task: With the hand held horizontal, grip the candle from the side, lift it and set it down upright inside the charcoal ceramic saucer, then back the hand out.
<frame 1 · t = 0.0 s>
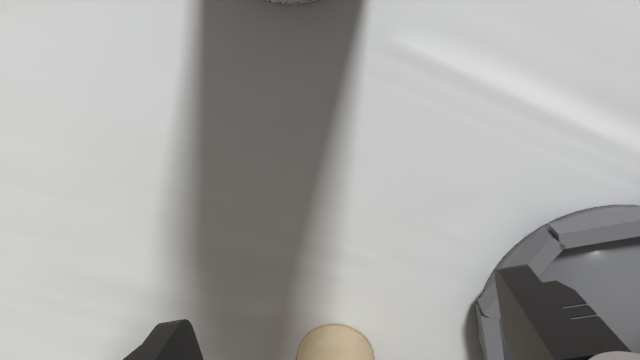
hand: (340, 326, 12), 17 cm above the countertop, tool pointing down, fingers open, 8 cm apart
candle: (335, 353, 33), on the countertop
saucer: (600, 316, 31), on the countertop
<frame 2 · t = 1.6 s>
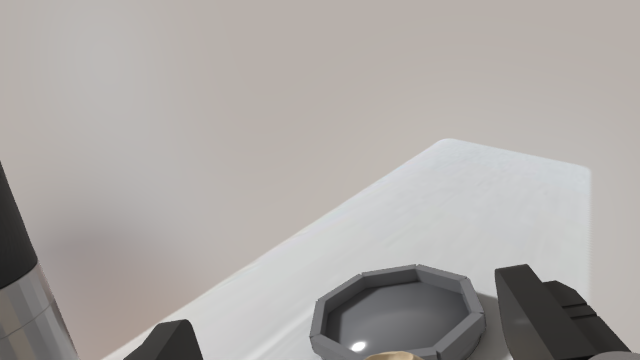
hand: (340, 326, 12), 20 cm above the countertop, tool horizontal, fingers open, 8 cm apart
saucer: (396, 328, 46), on the countertop
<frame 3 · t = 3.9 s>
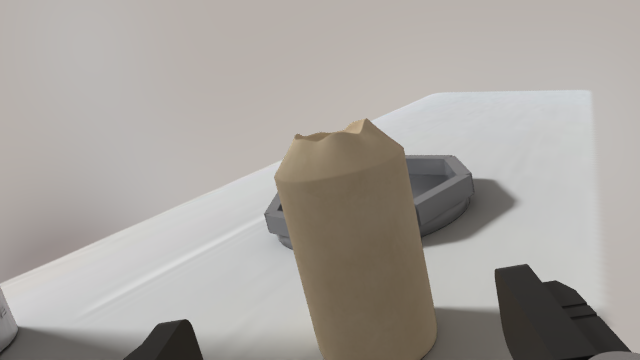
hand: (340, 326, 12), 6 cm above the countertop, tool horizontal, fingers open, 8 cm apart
candle: (378, 341, 21), on the countertop
saucer: (370, 211, 39), on the countertop
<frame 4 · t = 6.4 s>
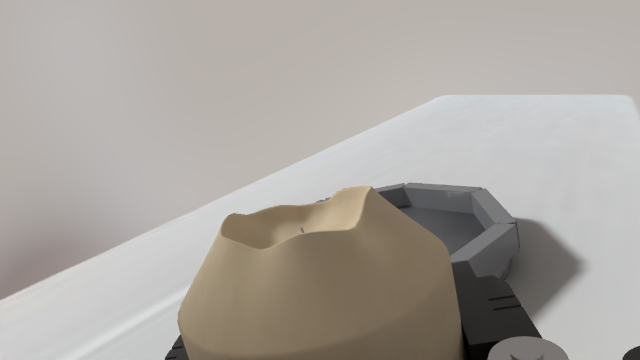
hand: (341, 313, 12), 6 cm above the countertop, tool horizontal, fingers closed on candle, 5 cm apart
saucer: (373, 264, 29), on the countertop
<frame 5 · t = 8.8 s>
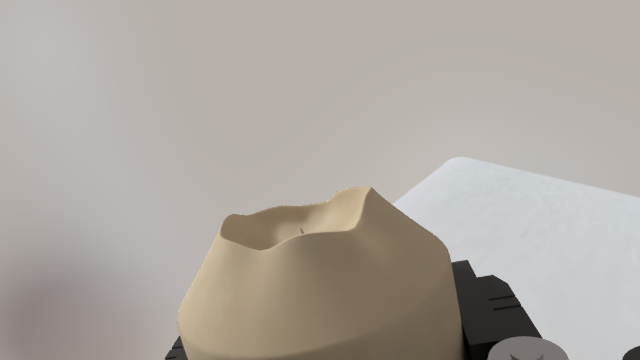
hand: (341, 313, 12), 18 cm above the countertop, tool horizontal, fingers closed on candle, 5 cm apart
when the fingers open (8 cm above the countertop, at t = 11.5 s): candle stays where it is, resting on saucer.
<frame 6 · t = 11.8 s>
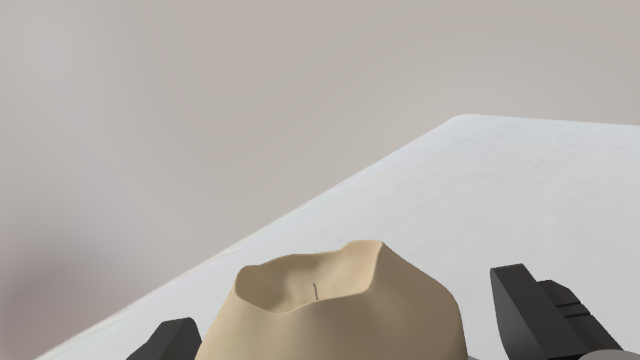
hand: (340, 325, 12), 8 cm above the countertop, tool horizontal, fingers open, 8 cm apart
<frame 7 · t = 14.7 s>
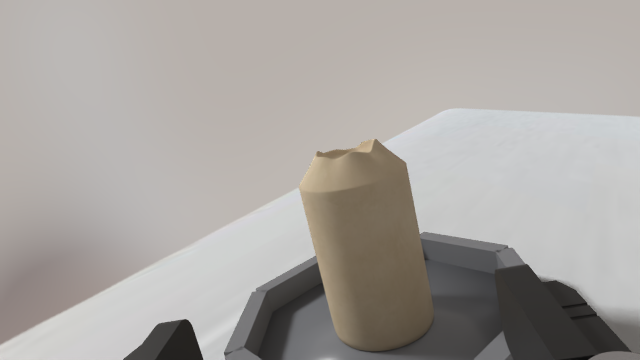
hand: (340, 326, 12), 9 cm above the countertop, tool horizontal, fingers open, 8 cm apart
candle: (384, 324, 25), point 1 cm above the countertop, touching saucer
saucer: (387, 336, 26), on the countertop
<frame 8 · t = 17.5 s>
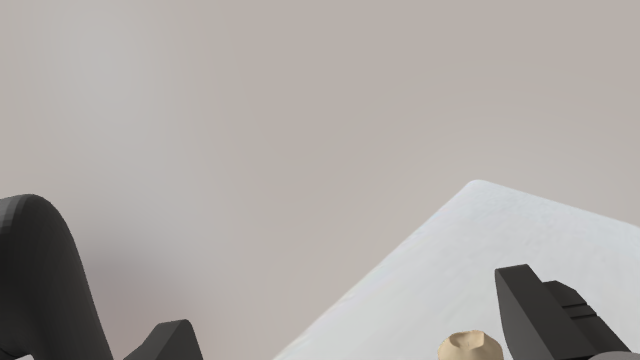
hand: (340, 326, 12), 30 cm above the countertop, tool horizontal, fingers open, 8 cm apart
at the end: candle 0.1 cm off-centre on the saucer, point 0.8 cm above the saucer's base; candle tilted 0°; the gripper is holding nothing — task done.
